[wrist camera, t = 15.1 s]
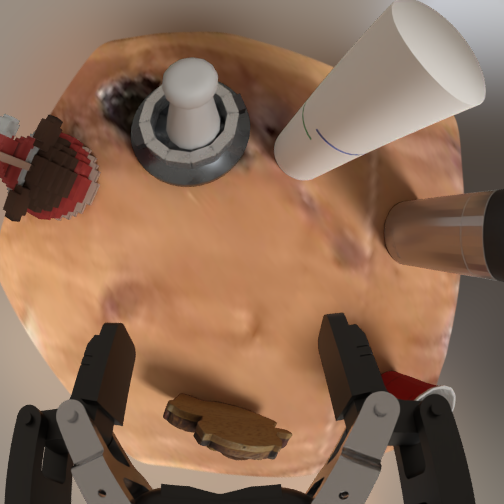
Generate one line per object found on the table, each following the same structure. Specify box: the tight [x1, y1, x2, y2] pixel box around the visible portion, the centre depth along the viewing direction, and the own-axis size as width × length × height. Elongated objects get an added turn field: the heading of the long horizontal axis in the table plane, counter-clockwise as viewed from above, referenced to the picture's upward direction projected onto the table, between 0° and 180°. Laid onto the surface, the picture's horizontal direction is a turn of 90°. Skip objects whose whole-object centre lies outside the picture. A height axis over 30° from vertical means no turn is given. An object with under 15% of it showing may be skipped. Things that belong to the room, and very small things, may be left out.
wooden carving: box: [163, 393, 292, 460], centre depth 29 cm, size 16×5×10 cm, turn 72°
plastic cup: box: [381, 371, 455, 412], centre depth 32 cm, size 11×11×12 cm
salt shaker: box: [162, 57, 220, 151], centre depth 24 cm, size 6×6×13 cm
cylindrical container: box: [274, 0, 486, 180], centre depth 21 cm, size 7×7×25 cm
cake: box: [0, 114, 101, 222], centre depth 20 cm, size 11×9×18 cm
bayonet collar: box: [131, 82, 250, 187], centre depth 29 cm, size 14×14×4 cm
